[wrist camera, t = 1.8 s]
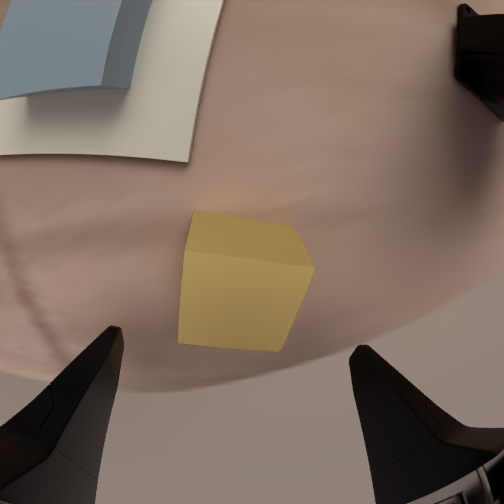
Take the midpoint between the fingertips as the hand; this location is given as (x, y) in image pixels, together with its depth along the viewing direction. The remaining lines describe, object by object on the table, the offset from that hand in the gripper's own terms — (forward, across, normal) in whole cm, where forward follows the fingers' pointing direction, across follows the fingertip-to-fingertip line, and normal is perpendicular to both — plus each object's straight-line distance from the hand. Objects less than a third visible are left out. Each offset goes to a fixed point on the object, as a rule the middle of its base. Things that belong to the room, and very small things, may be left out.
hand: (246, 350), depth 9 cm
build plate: (+6, +9, -11) cm, 15 cm away
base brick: (+5, +9, -11) cm, 15 cm away
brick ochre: (+6, 0, 0) cm, 6 cm away
